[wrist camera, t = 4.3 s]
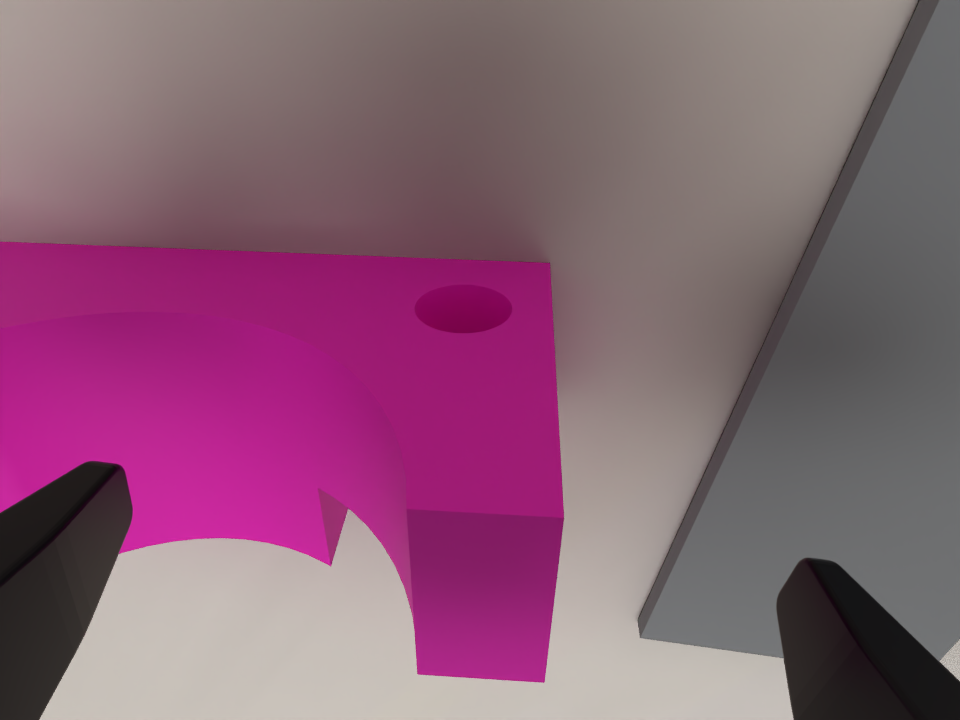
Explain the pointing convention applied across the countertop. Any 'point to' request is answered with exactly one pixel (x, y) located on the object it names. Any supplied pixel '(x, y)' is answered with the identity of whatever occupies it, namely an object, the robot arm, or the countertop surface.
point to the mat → (848, 393)
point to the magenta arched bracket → (307, 416)
